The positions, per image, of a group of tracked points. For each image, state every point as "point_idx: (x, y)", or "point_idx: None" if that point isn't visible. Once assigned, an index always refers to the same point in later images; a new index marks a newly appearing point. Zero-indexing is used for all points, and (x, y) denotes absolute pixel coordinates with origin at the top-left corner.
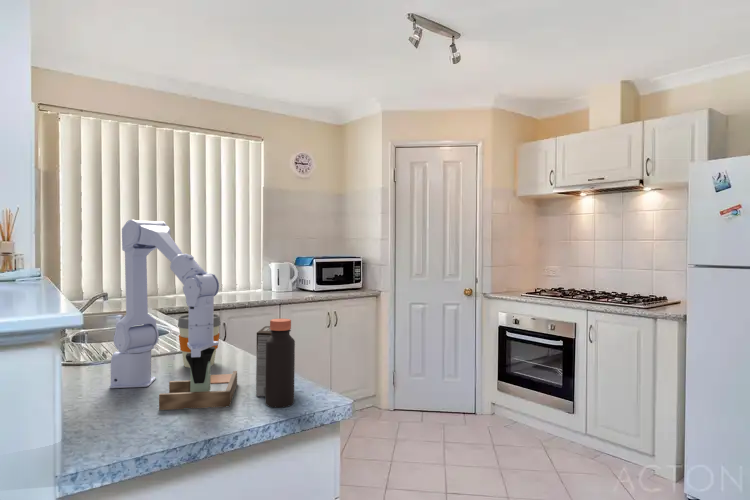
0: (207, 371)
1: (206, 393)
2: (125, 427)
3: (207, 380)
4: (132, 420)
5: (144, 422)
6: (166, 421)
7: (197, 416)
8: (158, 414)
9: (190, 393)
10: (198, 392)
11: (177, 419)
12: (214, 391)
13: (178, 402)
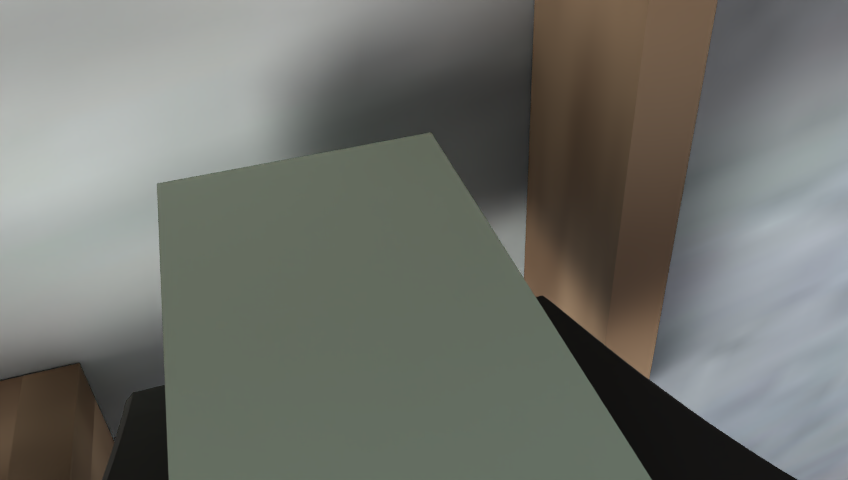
0: (605, 408)
1: (684, 121)
2: (832, 430)
3: (514, 274)
4: None
5: (790, 380)
6: (836, 258)
7: (827, 45)
8: (654, 378)
9: (660, 309)
10: (653, 235)
11: (828, 196)
12: (671, 18)
13: None
